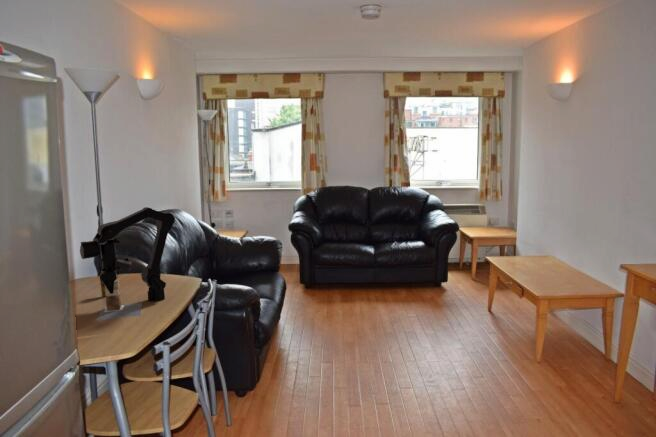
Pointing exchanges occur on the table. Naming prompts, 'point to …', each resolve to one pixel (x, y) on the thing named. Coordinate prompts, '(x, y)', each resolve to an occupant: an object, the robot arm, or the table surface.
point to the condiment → (102, 289)
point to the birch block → (116, 289)
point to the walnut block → (113, 302)
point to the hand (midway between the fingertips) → (112, 291)
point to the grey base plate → (121, 312)
